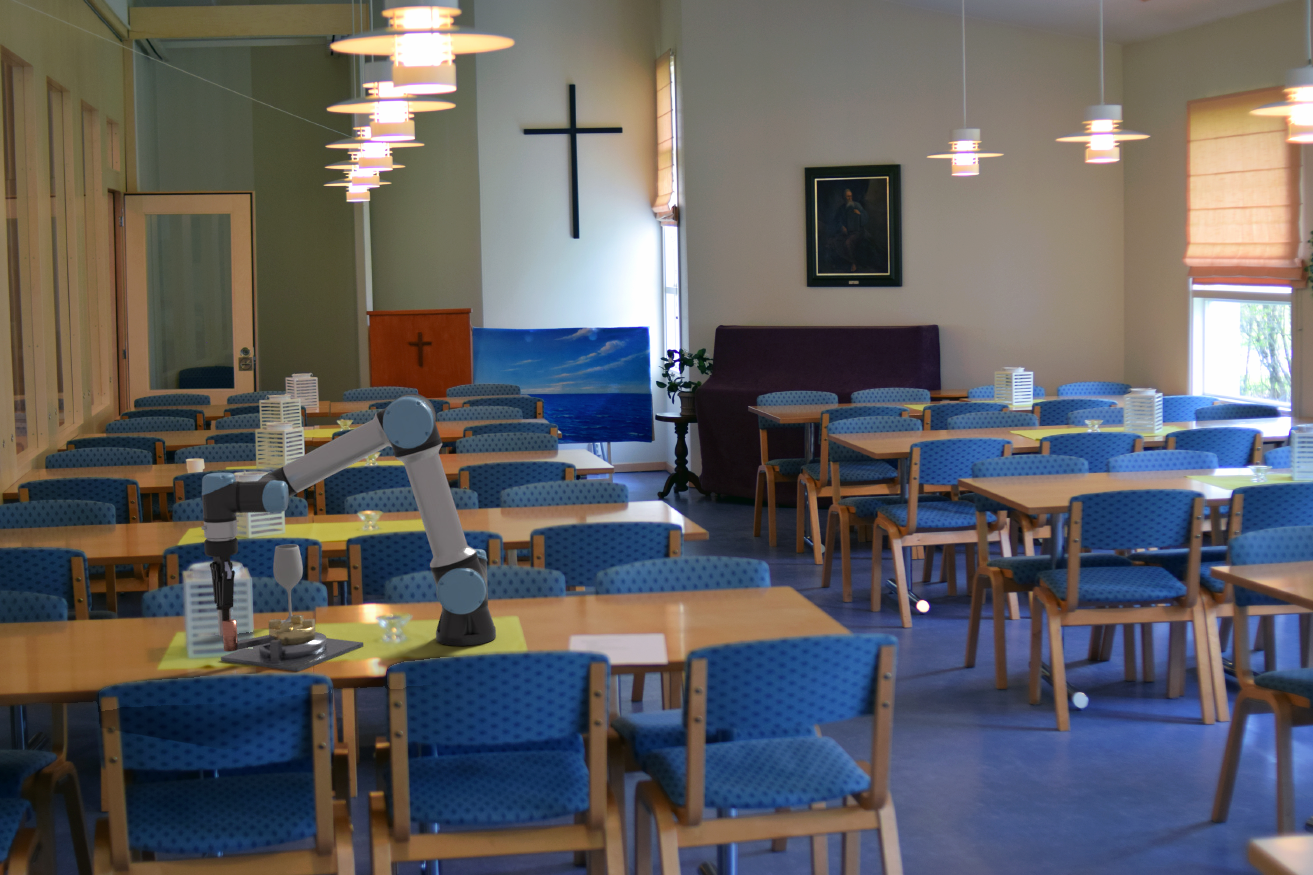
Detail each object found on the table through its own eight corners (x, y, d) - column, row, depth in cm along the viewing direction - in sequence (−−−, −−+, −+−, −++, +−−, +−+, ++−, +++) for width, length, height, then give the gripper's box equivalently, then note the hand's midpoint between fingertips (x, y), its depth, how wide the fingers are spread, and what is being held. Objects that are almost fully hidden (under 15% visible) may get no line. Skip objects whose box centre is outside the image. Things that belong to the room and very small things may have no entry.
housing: (363, 646, 328) (362, 622, 328) (298, 671, 307) (297, 646, 306) (289, 637, 339) (287, 614, 338) (220, 660, 317) (219, 636, 317)
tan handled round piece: (302, 630, 330) (300, 601, 329) (323, 638, 322) (322, 608, 321) (214, 648, 314) (212, 618, 314) (235, 656, 306) (233, 625, 306)
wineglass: (276, 627, 349) (272, 549, 347) (276, 620, 356) (272, 544, 354) (305, 625, 351) (301, 548, 349) (305, 618, 358) (301, 543, 356)
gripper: (197, 535, 315) (202, 631, 317) (212, 544, 304) (216, 643, 307) (229, 532, 319) (233, 626, 321) (244, 540, 308) (248, 638, 311)
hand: (225, 634), depth 314 cm, fingers closed
